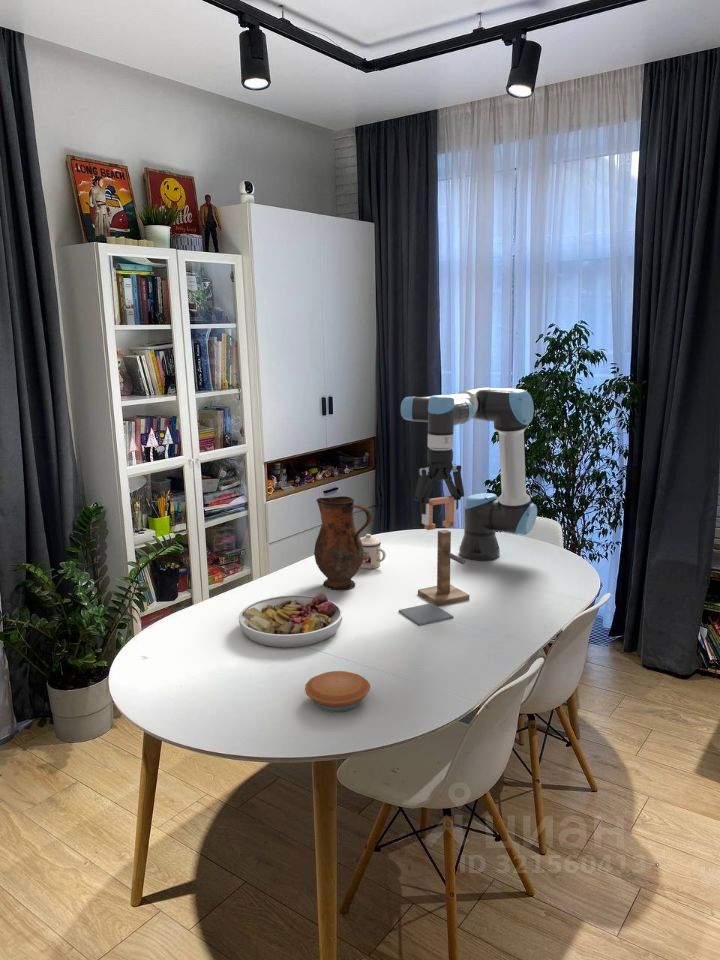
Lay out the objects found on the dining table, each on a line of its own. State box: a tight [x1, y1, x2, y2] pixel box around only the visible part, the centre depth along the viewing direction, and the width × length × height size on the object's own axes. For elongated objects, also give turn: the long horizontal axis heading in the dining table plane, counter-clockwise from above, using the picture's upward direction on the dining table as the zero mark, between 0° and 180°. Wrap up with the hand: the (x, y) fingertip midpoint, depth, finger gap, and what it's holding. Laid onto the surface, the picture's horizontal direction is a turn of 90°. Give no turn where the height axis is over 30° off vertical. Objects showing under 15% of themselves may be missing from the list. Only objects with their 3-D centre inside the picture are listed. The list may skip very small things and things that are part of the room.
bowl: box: [238, 592, 343, 648], centre depth 221 cm, size 30×30×8 cm
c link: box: [424, 495, 454, 531], centre depth 227 cm, size 9×2×9 cm, turn 118°
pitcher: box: [313, 495, 372, 591], centre depth 253 cm, size 17×21×30 cm
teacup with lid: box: [359, 533, 387, 569], centre depth 275 cm, size 12×9×12 cm
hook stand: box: [417, 529, 470, 607], centre depth 241 cm, size 16×12×22 cm
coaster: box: [398, 602, 454, 626], centre depth 231 cm, size 12×12×1 cm
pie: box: [304, 670, 371, 713], centre depth 181 cm, size 15×16×5 cm
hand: (438, 522), depth 228 cm, fingers closed on c link, 9 cm apart
